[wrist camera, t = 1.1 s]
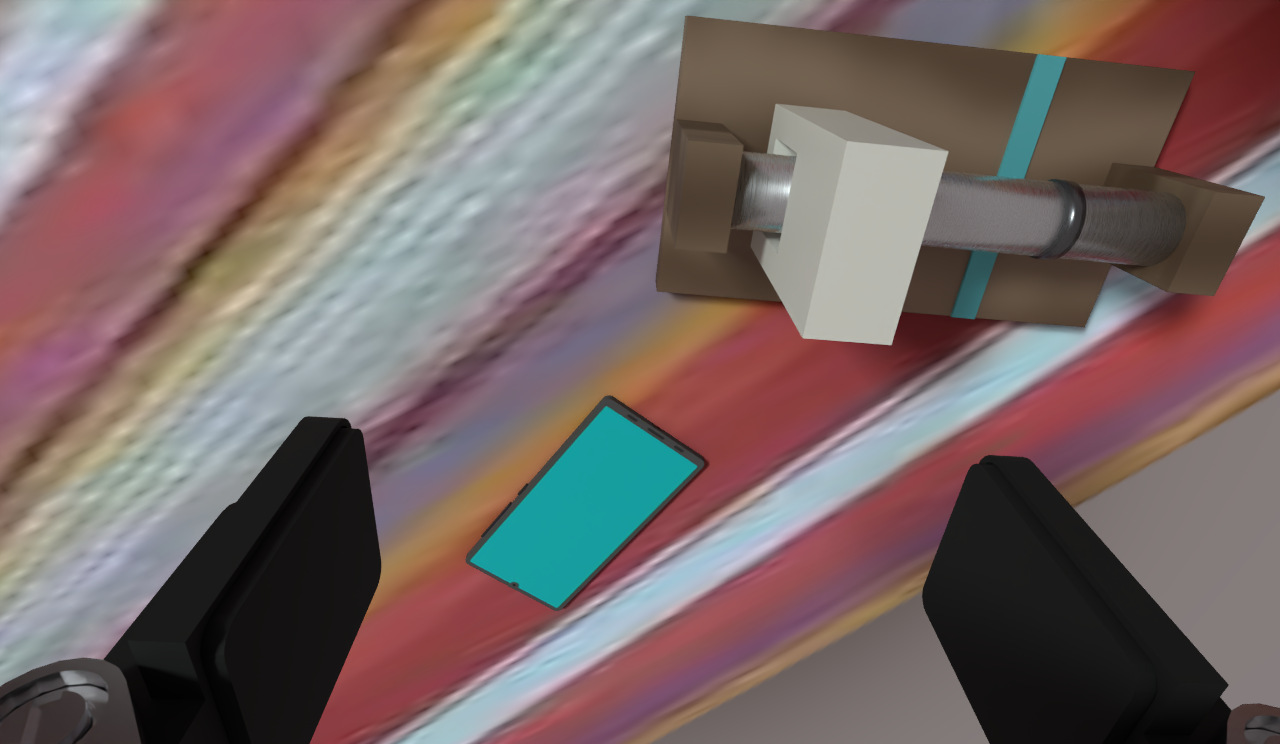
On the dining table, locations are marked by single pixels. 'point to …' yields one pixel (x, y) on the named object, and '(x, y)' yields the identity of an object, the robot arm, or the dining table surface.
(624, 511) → the smartphone
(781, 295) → the collar
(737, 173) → the pipe rig
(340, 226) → the dining table surface
